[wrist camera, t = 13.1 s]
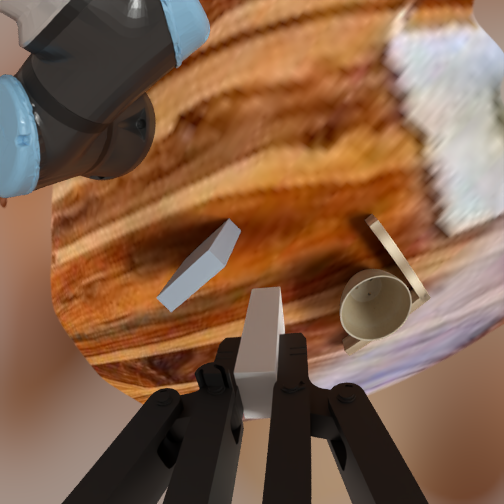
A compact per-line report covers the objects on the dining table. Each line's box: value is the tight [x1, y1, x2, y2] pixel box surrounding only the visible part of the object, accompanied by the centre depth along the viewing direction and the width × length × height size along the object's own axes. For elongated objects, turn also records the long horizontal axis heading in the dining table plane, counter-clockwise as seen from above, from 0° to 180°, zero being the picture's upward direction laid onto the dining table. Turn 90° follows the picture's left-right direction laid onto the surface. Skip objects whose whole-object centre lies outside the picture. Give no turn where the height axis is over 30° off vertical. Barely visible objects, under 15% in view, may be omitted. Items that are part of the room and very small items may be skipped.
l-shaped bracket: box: [342, 214, 430, 356], centre depth 43 cm, size 16×16×3 cm
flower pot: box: [340, 269, 412, 341], centre depth 41 cm, size 10×10×7 cm
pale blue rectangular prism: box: [157, 219, 241, 312], centre depth 39 cm, size 2×9×12 cm, turn 133°
